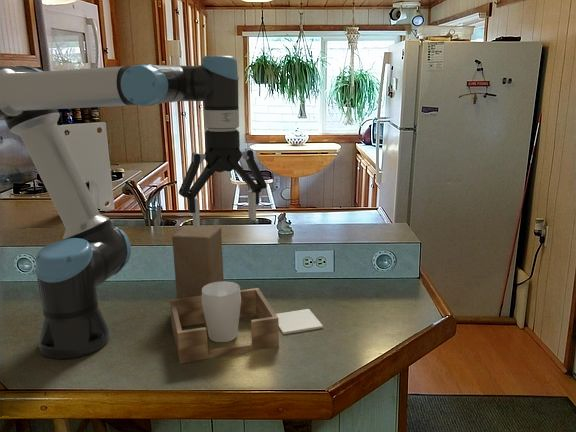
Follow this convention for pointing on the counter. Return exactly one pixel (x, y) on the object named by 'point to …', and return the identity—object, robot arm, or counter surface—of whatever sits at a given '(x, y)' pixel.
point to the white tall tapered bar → (92, 159)
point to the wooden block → (197, 259)
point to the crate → (195, 340)
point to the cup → (221, 310)
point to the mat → (298, 321)
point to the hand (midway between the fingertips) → (225, 222)
